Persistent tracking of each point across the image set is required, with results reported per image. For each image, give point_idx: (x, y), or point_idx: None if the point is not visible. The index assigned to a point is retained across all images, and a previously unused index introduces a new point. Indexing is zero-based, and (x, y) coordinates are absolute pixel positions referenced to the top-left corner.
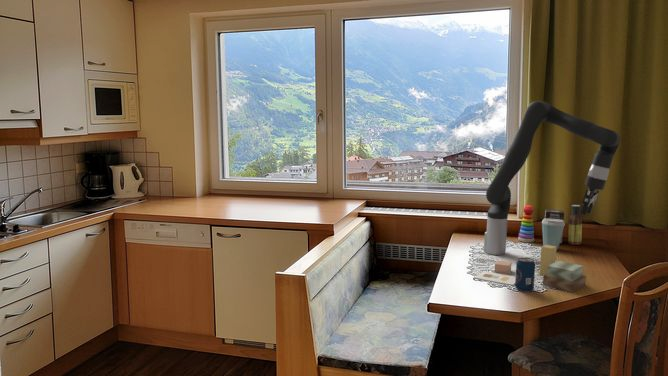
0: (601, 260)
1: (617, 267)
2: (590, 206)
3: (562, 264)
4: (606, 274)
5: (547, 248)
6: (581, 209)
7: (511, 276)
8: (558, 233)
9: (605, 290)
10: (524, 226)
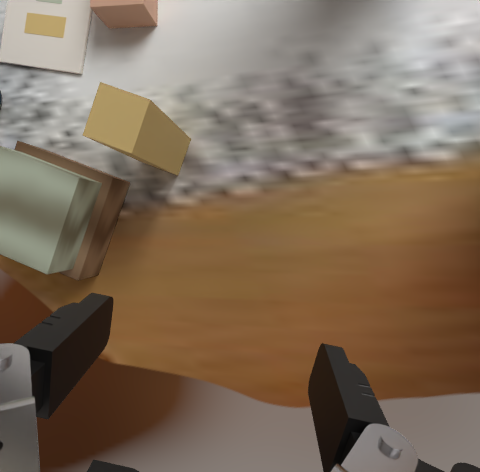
0: (458, 346)
1: None
2: (328, 443)
3: (30, 196)
4: (253, 348)
5: (91, 114)
6: (69, 311)
7: (79, 40)
8: None
9: None
10: None
